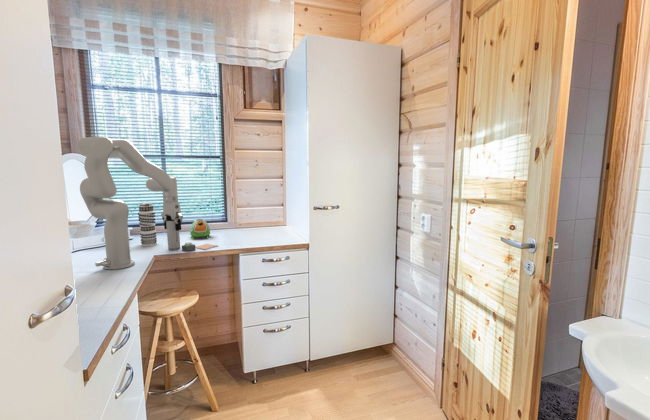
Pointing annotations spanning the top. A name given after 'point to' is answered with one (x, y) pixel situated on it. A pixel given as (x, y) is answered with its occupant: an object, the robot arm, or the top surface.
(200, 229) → the turtle holder
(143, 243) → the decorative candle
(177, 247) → the travel mug
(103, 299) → the top surface
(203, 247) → the picture square
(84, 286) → the top surface
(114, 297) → the top surface
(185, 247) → the button base
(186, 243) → the button
